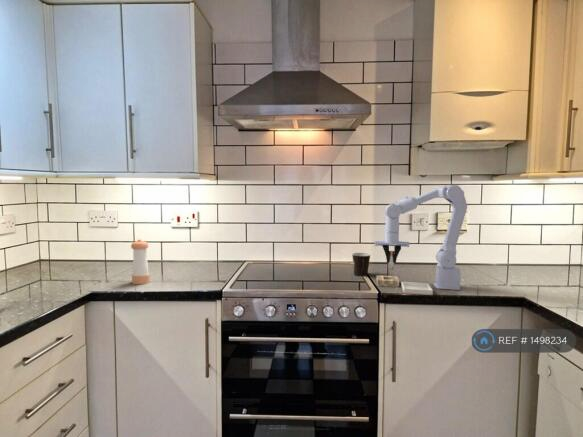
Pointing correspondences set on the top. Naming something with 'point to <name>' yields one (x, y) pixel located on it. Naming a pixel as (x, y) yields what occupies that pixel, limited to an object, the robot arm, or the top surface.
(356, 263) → the coffee mug
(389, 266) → the pin
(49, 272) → the top surface
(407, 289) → the tray
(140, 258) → the pepper shaker
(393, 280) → the block
